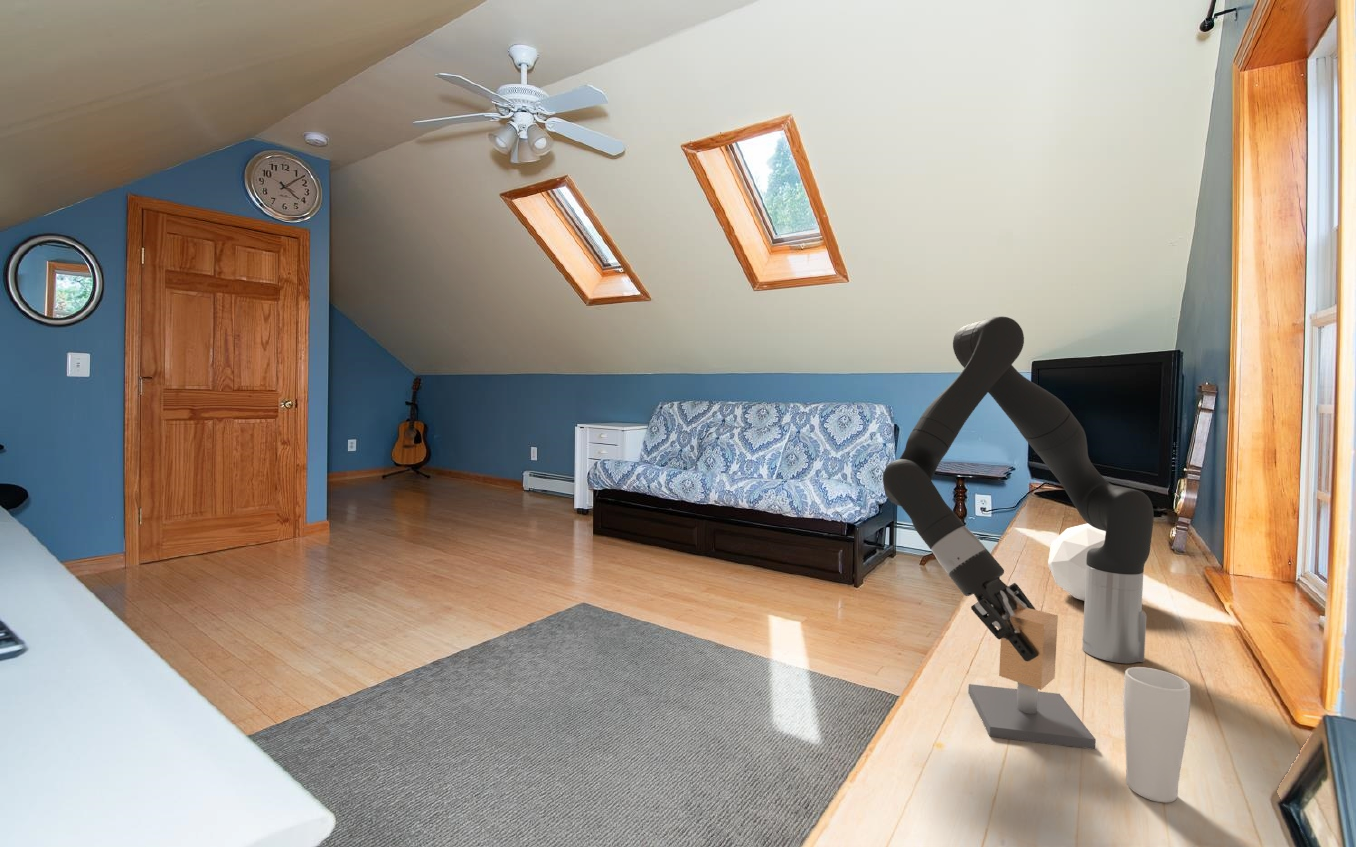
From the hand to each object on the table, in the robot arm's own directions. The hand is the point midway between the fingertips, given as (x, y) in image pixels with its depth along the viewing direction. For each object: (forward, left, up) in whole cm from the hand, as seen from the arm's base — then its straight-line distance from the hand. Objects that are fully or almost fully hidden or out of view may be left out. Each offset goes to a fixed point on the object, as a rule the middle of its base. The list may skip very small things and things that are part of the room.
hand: (1040, 652), depth 97 cm
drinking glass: (-9, +15, -11) cm, 21 cm away
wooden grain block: (+1, -1, -4) cm, 5 cm away
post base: (+1, -1, -11) cm, 11 cm away
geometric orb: (-33, -67, -11) cm, 75 cm away
